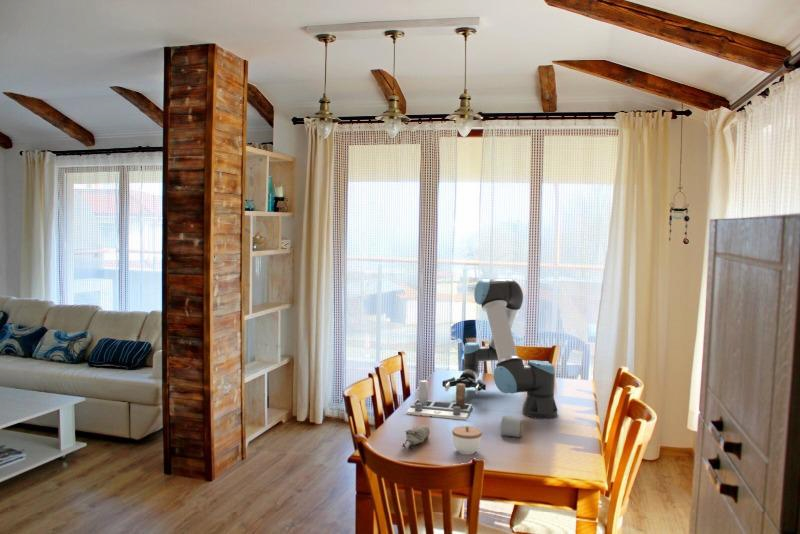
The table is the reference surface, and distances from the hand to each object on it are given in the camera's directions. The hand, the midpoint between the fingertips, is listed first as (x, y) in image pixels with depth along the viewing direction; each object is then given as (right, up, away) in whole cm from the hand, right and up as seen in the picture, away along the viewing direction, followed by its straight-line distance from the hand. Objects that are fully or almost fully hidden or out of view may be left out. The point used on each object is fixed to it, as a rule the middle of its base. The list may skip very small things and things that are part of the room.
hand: (461, 389), depth 271 cm
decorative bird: (-21, -12, -45) cm, 51 cm away
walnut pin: (-1, -9, -3) cm, 9 cm away
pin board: (-9, -9, -1) cm, 12 cm away
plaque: (-11, -9, -10) cm, 18 cm away
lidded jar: (-3, -12, -52) cm, 54 cm away
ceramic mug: (+16, -11, -33) cm, 39 cm away
